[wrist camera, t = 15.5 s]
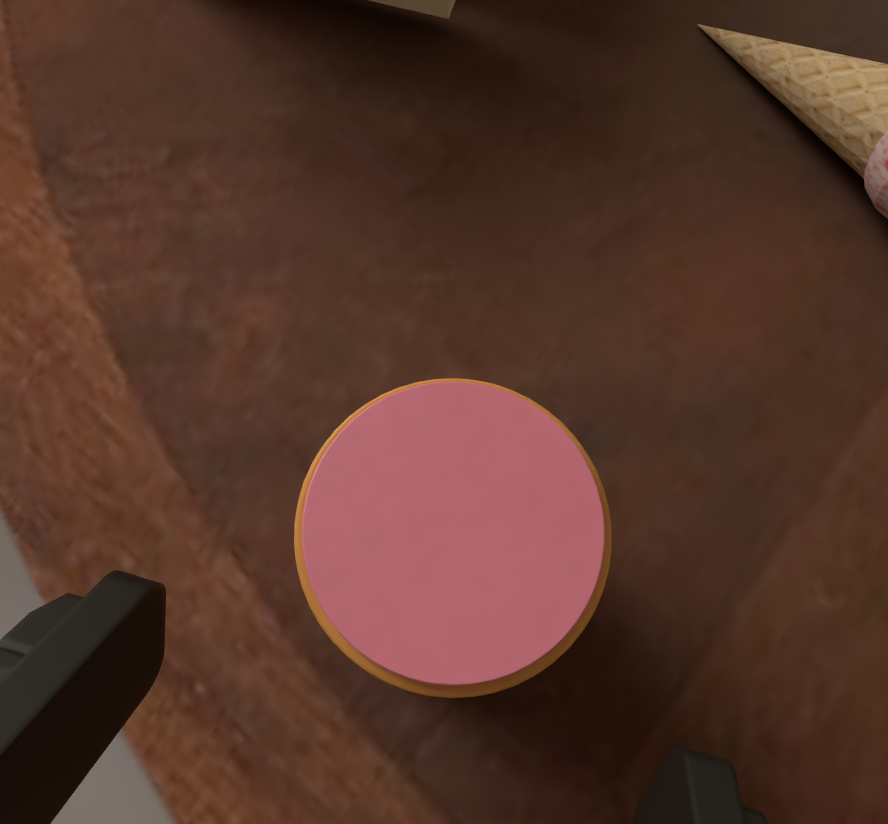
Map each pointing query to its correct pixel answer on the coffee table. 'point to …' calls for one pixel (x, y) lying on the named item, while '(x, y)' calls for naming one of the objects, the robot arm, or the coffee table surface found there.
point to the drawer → (423, 6)
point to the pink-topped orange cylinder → (452, 538)
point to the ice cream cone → (825, 99)
